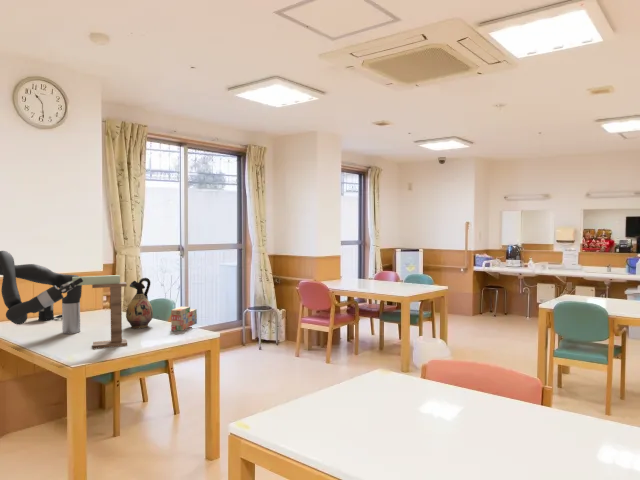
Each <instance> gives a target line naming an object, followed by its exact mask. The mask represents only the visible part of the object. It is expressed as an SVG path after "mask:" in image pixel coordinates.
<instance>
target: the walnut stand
mask: <svg viewBox="0 0 640 480" xmlns="http://www.w3.org/2000/svg"><path fill="white" fill-rule="evenodd" d="M127 284H128V283H127V282H126V281H120V283H118V284H96V285H91V286H92V289H101V288H109V289H110V296H109V297H110V299H109V300H110V340H101V341H100V340H99V341H93V342H92V349H93V350H95V349H96V348H97V349H103V348H115V347H117V348H118V347H127V346H128V341H127V338H123V327H122V325H123V323H122V320H123V319H122V318H123V317H122V316H123V315H122V314H123V313H122V312H123V311H122V308H123V307H122V288H123V287H127ZM97 349H96V350H97Z"/></svg>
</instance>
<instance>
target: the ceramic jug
mask: <svg viewBox="0 0 640 480" xmlns="http://www.w3.org/2000/svg"><path fill="white" fill-rule="evenodd" d="M144 282H146V283H147V284H146V286H145V285H144V284H143V283H144ZM129 287H130V288H131V289H135V290H136V293H135V295H134V296H133V297H132V298H131V300H130V302H129V304H128V306H127V308H126V313H125V317H126V321H127V322H128V323H129V325H130V326H131V329H144V328H147V327H148V326H149V324H150V323H151V321H152V320H153V316H154V312H153V311H154V310H153V306H152V304H151V303H150V301H149V298H148V293H149V291H150V287H151V280H150V278H147V277H143V278H140V279H139V280H138V281H137V280H133V281H132V282H131V283H130V284H129ZM143 289H145V290H144V291H143Z"/></svg>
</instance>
